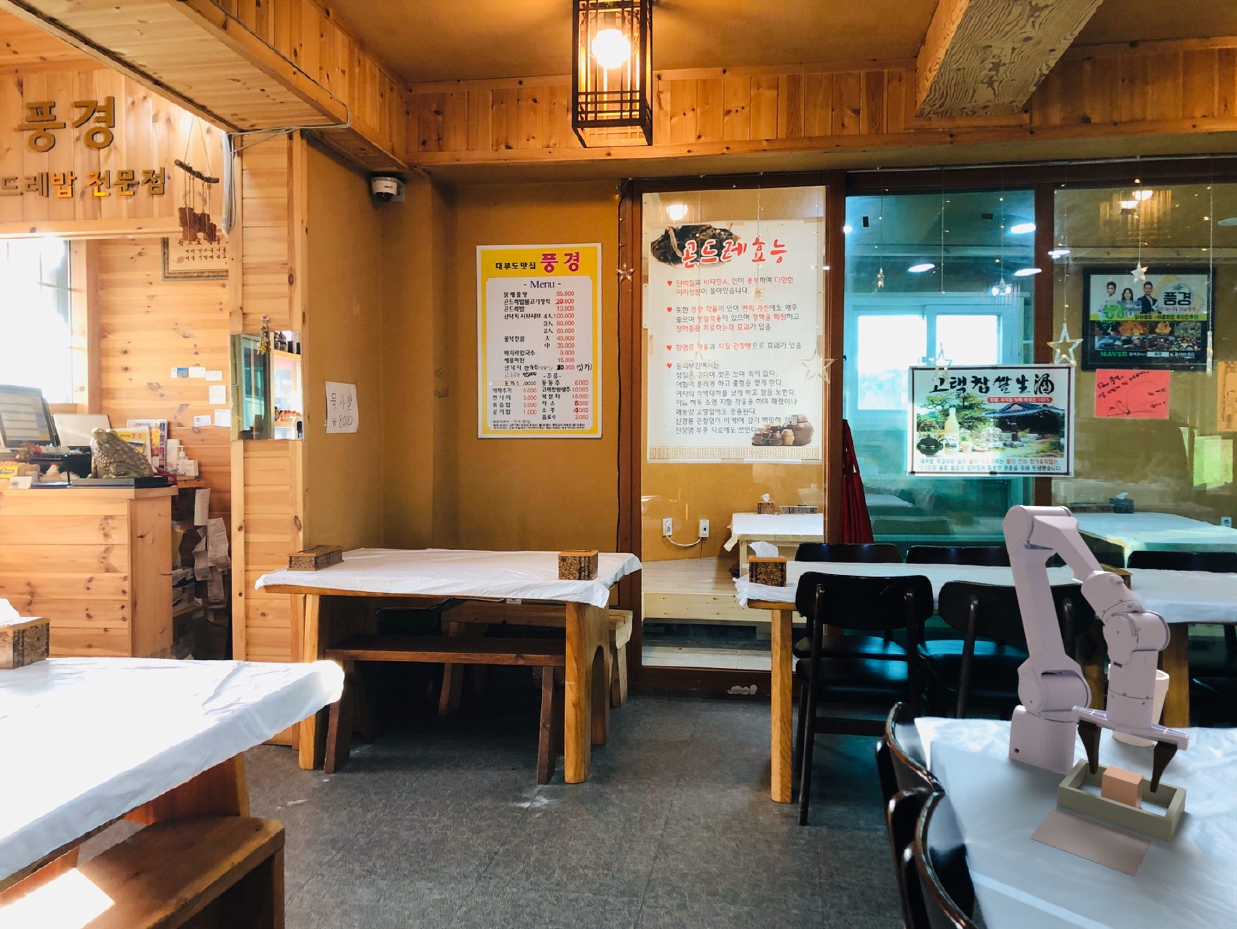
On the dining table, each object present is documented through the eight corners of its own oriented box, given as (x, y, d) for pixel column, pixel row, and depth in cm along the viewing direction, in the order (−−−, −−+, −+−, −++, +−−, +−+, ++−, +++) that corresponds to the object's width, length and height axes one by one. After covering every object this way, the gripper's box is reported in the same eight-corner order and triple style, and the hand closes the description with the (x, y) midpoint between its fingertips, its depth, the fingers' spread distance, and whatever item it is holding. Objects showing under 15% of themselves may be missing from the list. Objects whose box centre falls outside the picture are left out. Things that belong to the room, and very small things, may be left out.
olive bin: (1056, 808, 116) (1058, 785, 116) (1079, 779, 126) (1080, 758, 126) (1170, 846, 106) (1172, 822, 106) (1184, 811, 117) (1186, 789, 116)
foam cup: (1154, 734, 147) (1160, 667, 146) (1170, 754, 138) (1177, 682, 137) (1096, 726, 150) (1102, 660, 149) (1109, 744, 141) (1115, 674, 140)
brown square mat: (1029, 843, 106) (1029, 838, 106) (1052, 813, 114) (1053, 808, 114) (1133, 882, 97) (1134, 876, 97) (1150, 846, 106) (1150, 840, 106)
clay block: (1100, 806, 116) (1102, 774, 116) (1107, 797, 119) (1109, 765, 119) (1134, 818, 113) (1137, 784, 113) (1140, 807, 116) (1143, 775, 116)
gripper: (1069, 685, 117) (1062, 772, 118) (1187, 713, 107) (1178, 808, 108) (1080, 675, 122) (1073, 758, 123) (1193, 701, 113) (1185, 791, 113)
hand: (1123, 781), depth 116 cm, fingers open, 7 cm apart
